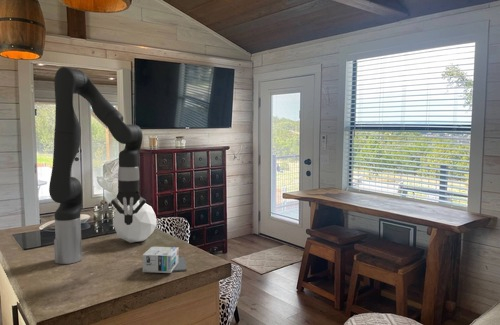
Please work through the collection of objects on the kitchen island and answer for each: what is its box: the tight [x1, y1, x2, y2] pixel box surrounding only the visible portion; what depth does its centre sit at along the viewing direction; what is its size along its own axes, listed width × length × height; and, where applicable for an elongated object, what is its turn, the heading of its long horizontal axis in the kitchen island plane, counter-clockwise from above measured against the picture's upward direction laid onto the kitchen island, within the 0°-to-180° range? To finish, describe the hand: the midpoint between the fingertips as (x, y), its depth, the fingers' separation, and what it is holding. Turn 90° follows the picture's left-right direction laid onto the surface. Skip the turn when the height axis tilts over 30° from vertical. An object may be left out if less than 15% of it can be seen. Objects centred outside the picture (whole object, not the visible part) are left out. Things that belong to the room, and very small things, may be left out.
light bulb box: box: [142, 246, 180, 274], centre depth 146 cm, size 11×7×11 cm
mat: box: [152, 256, 187, 274], centre depth 151 cm, size 12×14×1 cm
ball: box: [112, 200, 157, 244], centre depth 182 cm, size 19×20×20 cm
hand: (128, 224), depth 146 cm, fingers closed
